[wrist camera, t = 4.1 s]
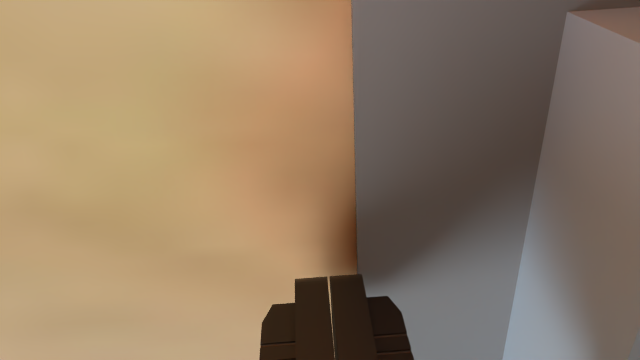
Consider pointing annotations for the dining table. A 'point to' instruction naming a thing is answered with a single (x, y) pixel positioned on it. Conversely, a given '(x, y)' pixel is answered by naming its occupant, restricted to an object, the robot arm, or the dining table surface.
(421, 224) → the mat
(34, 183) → the dining table surface
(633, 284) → the t block
